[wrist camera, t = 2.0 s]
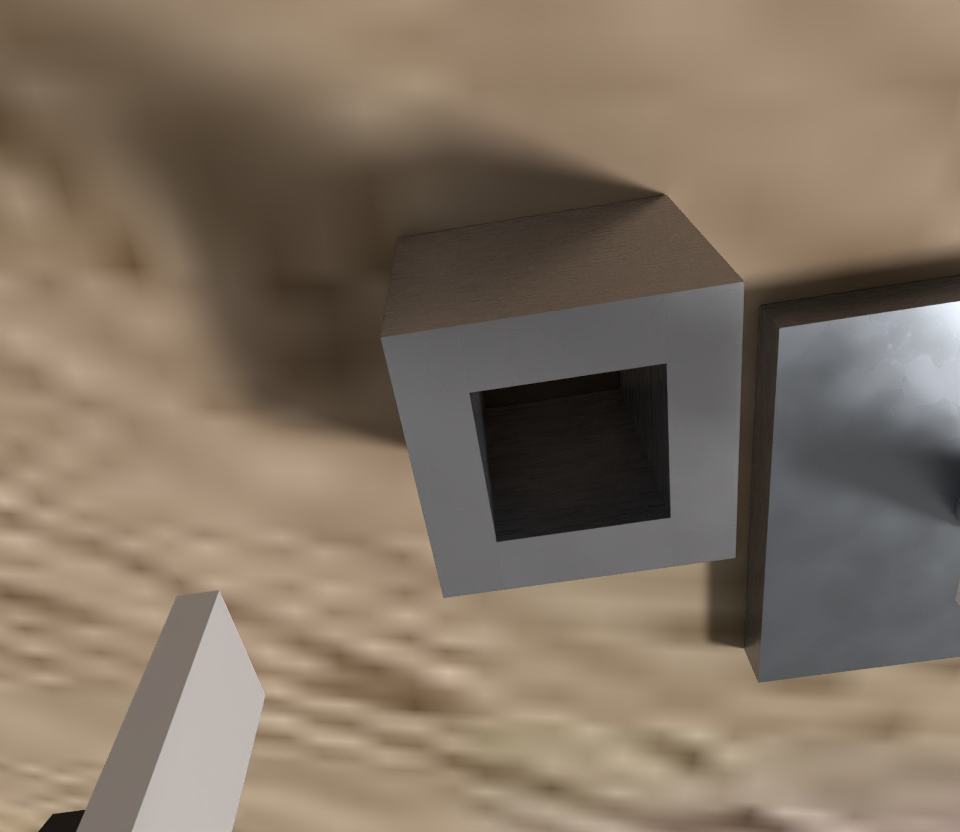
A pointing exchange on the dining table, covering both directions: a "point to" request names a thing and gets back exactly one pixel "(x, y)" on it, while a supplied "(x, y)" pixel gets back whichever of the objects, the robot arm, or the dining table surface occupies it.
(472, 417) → the grey square sleeve
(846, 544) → the shaft stand
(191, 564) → the dining table surface
